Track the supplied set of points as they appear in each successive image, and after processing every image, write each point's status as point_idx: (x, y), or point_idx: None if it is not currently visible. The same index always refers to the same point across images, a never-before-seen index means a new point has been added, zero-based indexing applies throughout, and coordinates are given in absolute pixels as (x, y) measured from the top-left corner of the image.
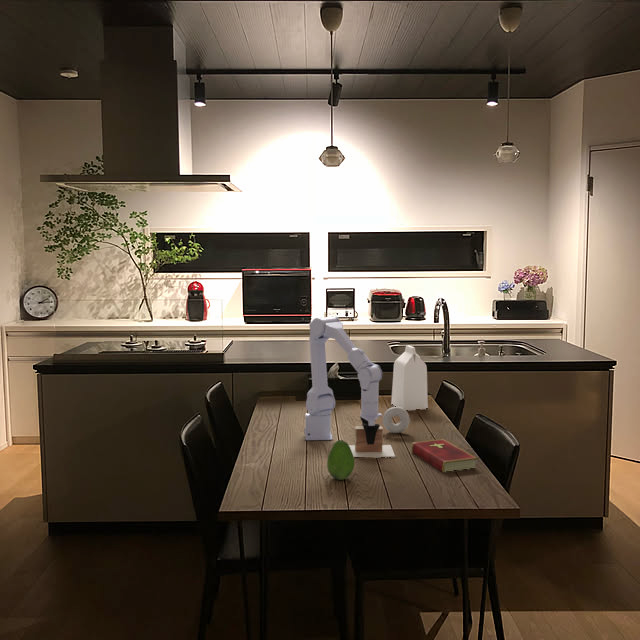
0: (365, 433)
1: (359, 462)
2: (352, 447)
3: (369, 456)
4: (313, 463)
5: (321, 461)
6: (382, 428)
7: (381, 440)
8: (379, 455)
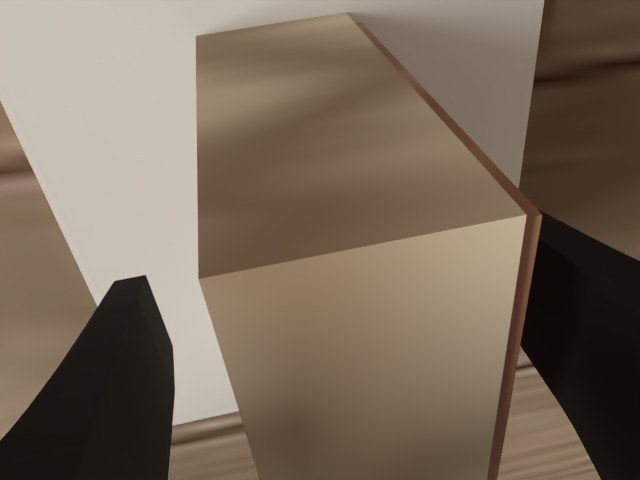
0: (583, 436)
1: (627, 235)
2: (216, 362)
3: (520, 169)
4: (569, 475)
5: (540, 453)
6: (511, 223)
7: (423, 97)
8: (504, 50)
